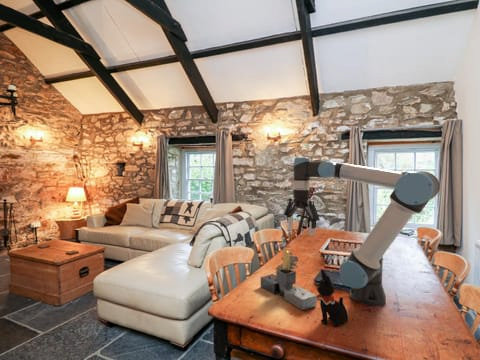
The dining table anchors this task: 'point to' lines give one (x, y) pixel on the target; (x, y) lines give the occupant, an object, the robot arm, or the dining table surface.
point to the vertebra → (290, 262)
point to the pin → (286, 261)
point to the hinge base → (278, 281)
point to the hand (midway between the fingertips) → (300, 232)
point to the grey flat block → (300, 297)
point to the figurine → (330, 302)
